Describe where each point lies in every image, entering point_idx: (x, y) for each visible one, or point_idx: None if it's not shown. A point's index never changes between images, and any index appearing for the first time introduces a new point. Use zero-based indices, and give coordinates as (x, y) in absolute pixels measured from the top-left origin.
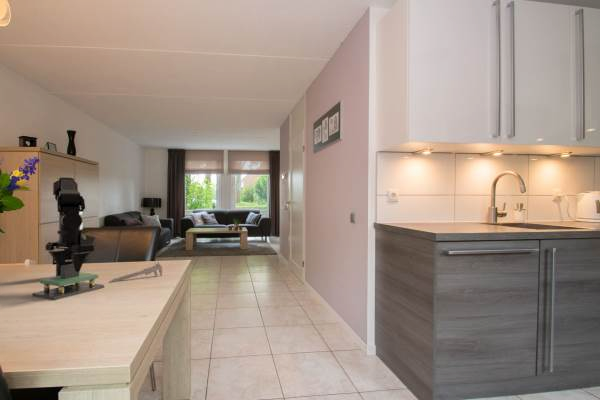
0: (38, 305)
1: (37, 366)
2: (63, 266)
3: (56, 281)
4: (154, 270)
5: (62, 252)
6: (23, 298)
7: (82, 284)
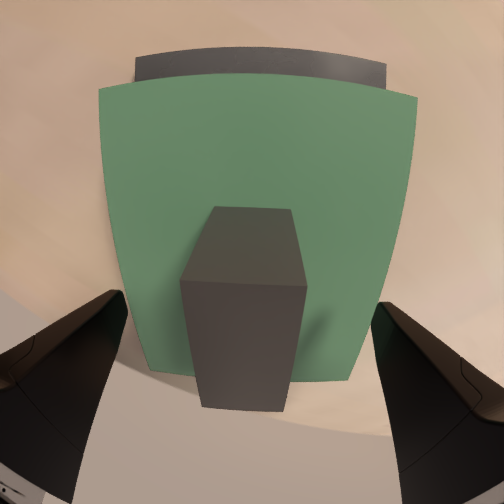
0: (336, 383)
1: None
2: (253, 407)
3: (297, 374)
4: None
5: (14, 445)
6: None
7: None
